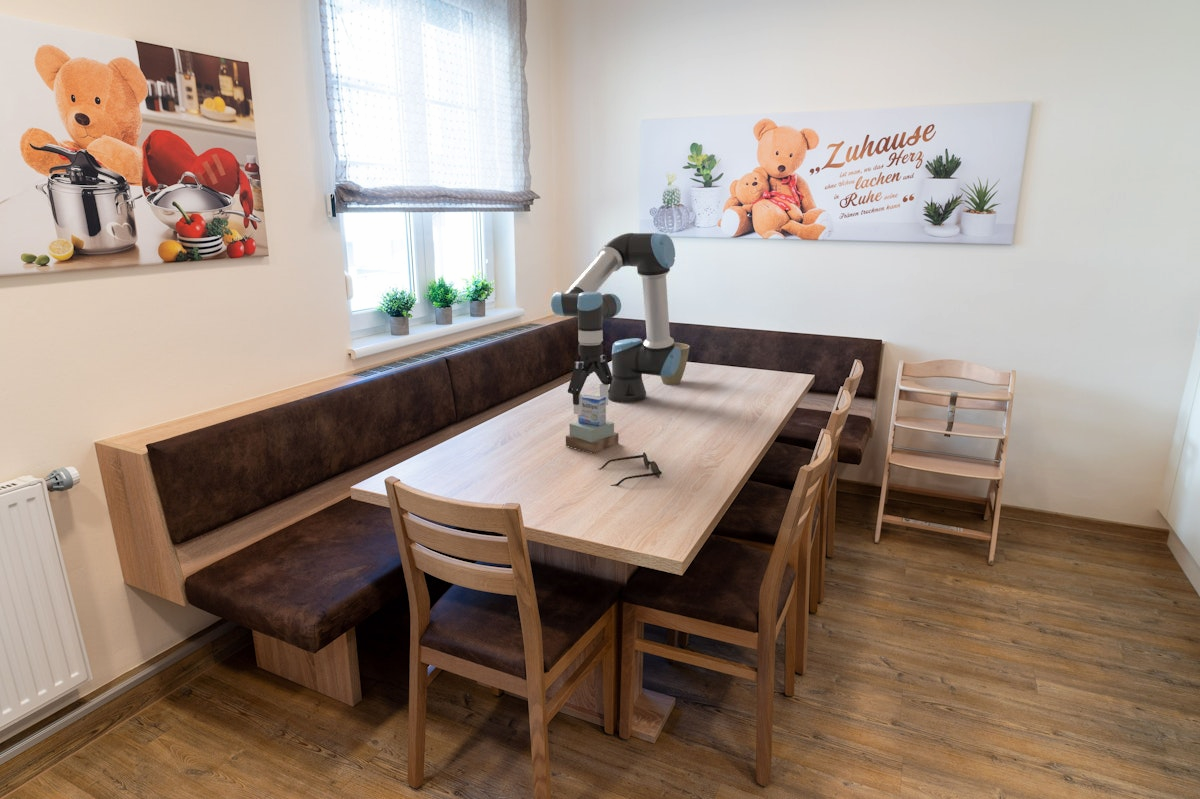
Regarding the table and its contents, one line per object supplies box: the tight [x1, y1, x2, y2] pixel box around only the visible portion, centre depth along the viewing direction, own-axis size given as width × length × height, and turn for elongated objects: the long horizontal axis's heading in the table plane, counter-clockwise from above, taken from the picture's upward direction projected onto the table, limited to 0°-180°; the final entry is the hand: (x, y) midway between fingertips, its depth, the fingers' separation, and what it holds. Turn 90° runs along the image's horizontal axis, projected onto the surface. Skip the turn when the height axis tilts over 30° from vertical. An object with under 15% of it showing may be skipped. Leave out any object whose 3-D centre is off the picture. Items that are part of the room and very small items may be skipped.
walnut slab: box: [565, 432, 619, 455], centre depth 230 cm, size 12×12×4 cm
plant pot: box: [659, 342, 690, 386], centre depth 303 cm, size 15×15×16 cm
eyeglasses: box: [597, 452, 663, 487], centre depth 205 cm, size 15×15×5 cm
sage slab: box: [569, 420, 615, 442], centre depth 228 cm, size 10×10×4 cm
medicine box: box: [577, 393, 607, 426], centre depth 227 cm, size 8×4×9 cm, turn 61°
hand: (591, 409), depth 227 cm, fingers open, 13 cm apart
